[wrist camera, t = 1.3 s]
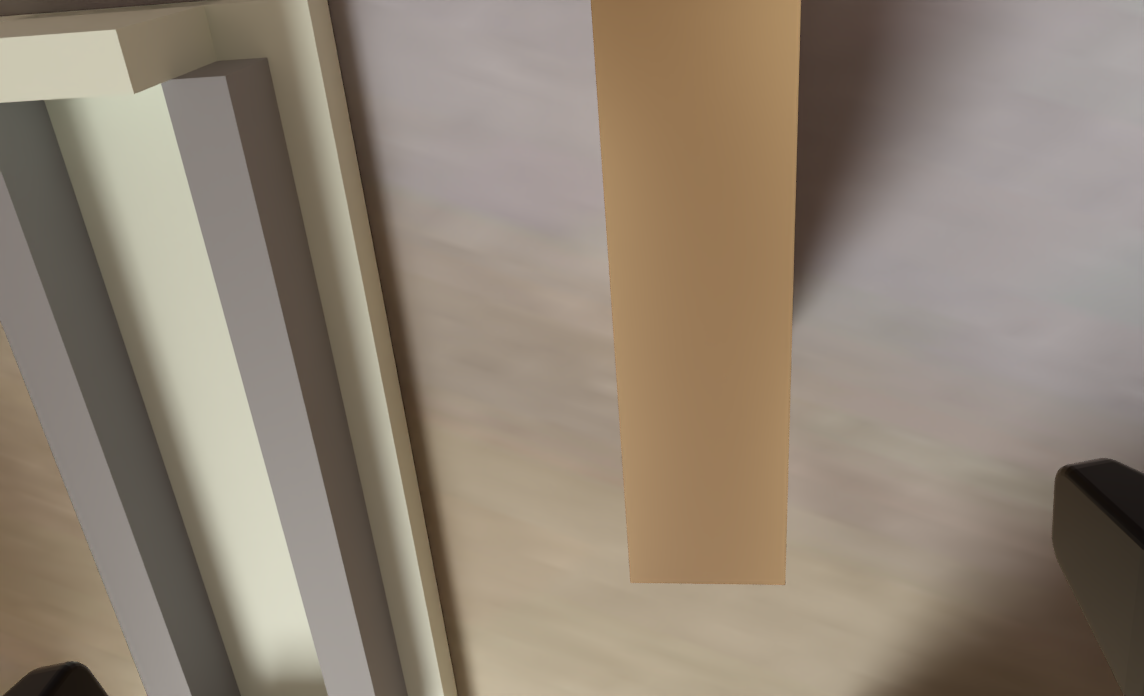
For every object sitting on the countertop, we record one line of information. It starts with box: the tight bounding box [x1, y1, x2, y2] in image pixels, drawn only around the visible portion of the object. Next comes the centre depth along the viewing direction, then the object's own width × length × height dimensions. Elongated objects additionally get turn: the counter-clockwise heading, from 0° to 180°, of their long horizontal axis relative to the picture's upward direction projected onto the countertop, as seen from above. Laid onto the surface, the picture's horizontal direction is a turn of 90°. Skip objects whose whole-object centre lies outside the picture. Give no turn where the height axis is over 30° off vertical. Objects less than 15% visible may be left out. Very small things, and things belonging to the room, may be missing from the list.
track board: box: [0, 0, 458, 696], centre depth 21 cm, size 8×20×4 cm, turn 5°
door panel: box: [591, 0, 801, 585], centre depth 16 cm, size 2×9×7 cm, turn 5°
